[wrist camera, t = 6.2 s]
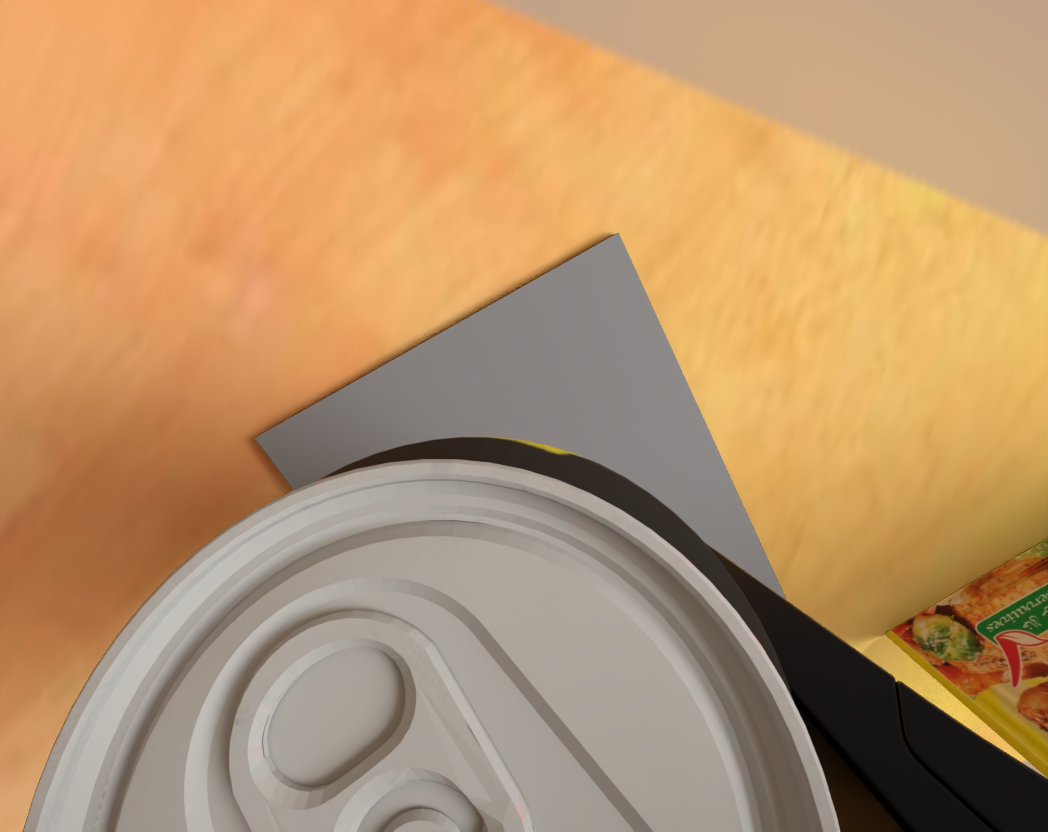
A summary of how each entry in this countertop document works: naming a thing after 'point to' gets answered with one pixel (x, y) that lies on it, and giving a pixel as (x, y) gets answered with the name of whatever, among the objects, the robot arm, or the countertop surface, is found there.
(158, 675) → the beverage can
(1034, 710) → the food package
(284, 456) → the rubber mat
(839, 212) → the countertop surface
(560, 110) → the countertop surface
